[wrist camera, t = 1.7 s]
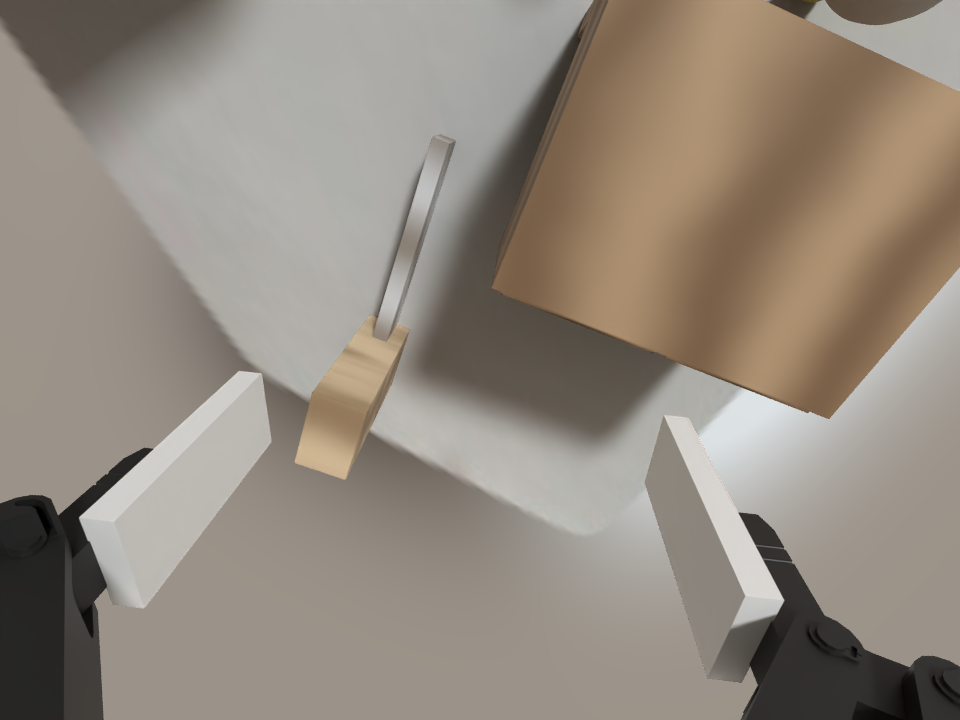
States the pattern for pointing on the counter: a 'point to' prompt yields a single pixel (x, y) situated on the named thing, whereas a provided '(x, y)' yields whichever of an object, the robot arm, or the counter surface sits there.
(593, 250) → the small wooden cabinet
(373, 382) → the wood and metal l-shape
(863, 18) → the light bulb
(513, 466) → the counter surface
